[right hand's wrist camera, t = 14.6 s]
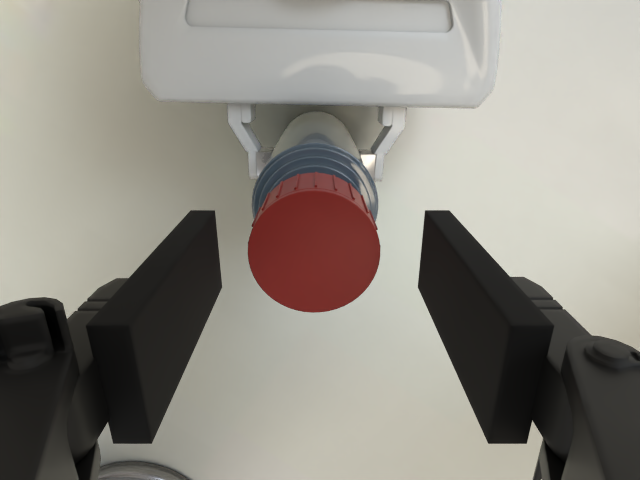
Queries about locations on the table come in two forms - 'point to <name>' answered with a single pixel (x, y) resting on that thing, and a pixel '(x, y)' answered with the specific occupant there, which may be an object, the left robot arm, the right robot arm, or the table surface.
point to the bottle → (315, 158)
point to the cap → (314, 243)
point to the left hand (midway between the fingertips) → (316, 178)
